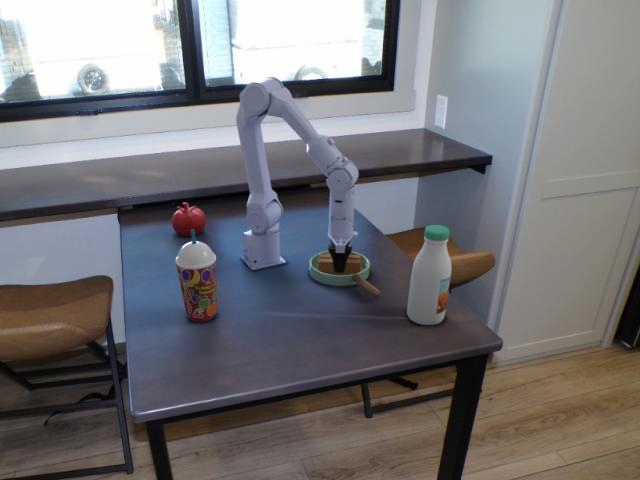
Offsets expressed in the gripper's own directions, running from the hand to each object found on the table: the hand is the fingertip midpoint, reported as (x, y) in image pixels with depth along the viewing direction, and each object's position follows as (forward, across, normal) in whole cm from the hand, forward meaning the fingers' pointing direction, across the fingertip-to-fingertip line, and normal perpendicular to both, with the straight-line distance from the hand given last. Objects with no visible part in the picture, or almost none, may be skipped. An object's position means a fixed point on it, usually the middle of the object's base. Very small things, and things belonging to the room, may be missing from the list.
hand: (339, 267), depth 128 cm
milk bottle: (+2, -19, -18) cm, 26 cm away
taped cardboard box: (+1, 0, 0) cm, 1 cm away
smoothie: (+2, -22, +29) cm, 37 cm away
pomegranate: (+2, +24, +44) cm, 50 cm away
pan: (+2, 0, 0) cm, 2 cm away
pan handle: (0, -10, -6) cm, 12 cm away
